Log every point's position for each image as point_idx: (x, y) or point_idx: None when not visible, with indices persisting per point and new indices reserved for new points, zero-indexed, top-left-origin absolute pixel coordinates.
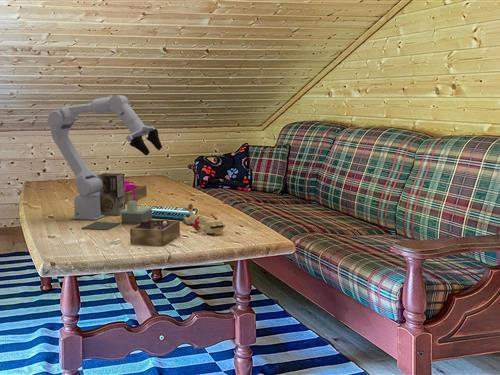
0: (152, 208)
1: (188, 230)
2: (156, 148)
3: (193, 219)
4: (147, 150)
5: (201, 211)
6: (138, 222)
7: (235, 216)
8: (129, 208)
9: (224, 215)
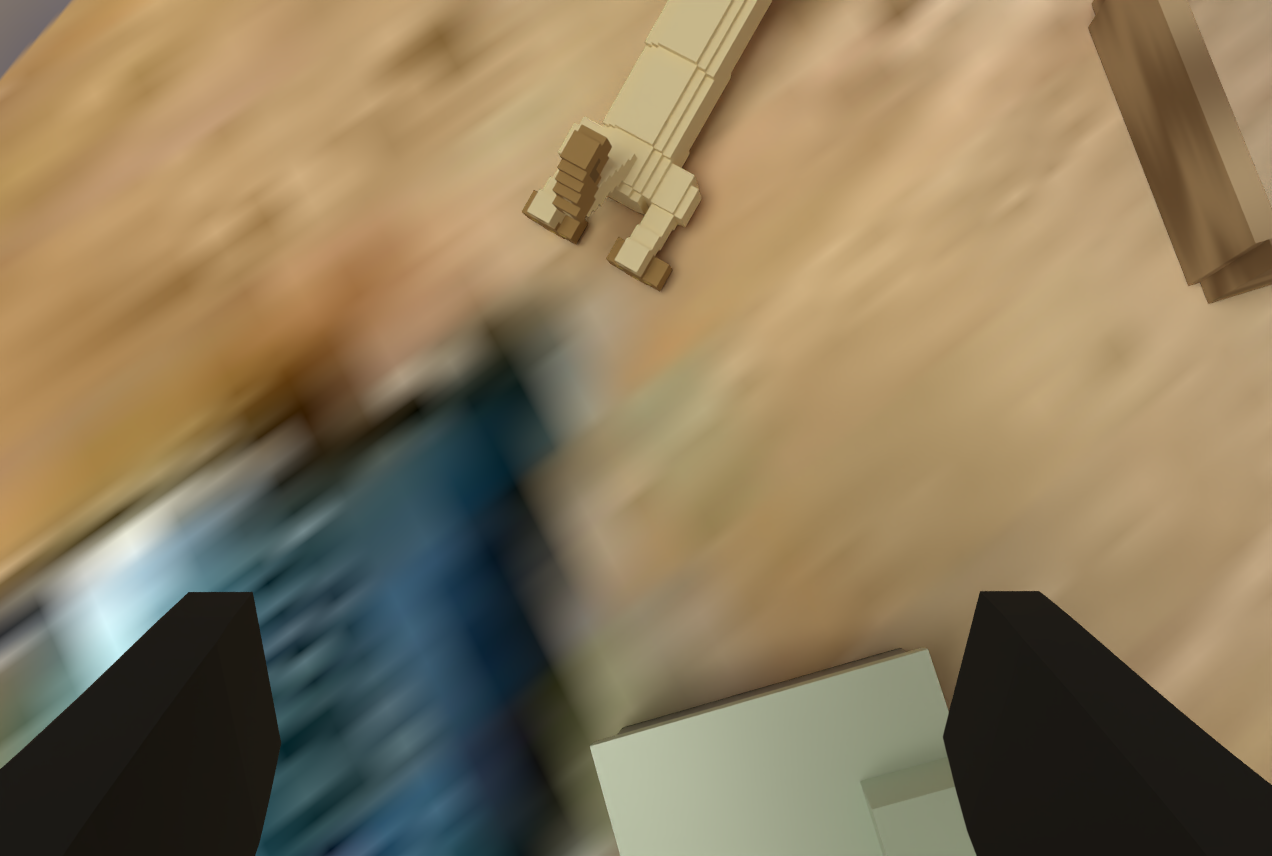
0: (599, 740)
1: (882, 60)
2: (256, 848)
3: (714, 89)
4: (1095, 641)
5: (54, 498)
6: None
7: (134, 58)
8: None
9: (136, 175)
